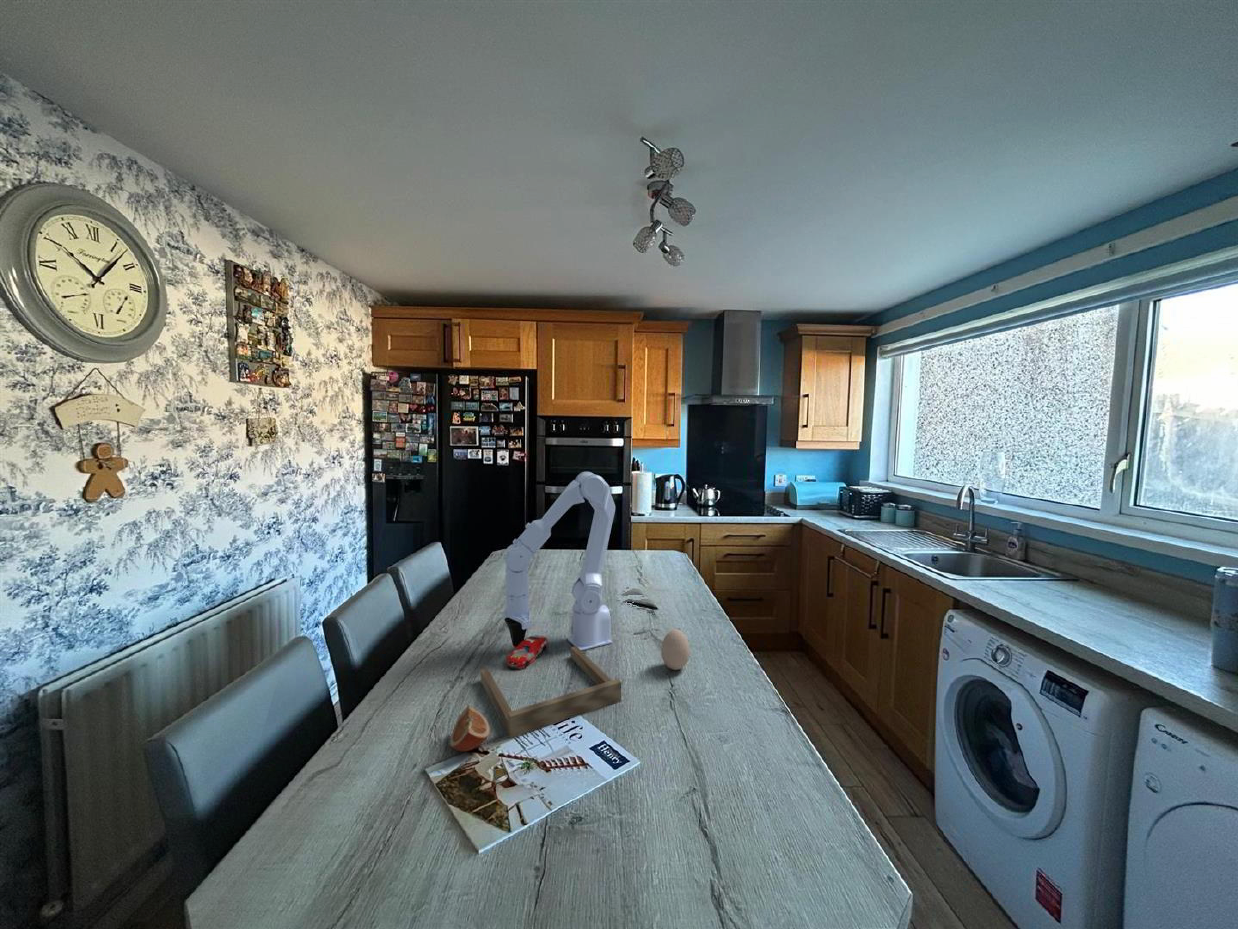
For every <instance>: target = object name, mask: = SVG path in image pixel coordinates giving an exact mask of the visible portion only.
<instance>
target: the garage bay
mask: <svg viewBox="0 0 1238 929" xmlns="http://www.w3.org/2000/svg"><path fill="white" fill-rule="evenodd" d="M570 658H571V660H572V661H574V663H576V664H577V665H578V666H579V668H580V669H581V670H582V671H583V672H584V673H585V674H586V675H587V676H588V677H589V678H590V679H591V680H592V681H593V682H594V683H595V684H596V685H593V686H590V687H587V688H586V687H585V688H583V689H580V690H576V691H574V692H573V691H572V692H569V693H567V694H562V695H560V696H556V697H553V698H550V699H547V700H544V701H540V702H537V703H534V704H530V705H528V706H524V707H520V708H518V709H514V710H512V708H511V706H510V705H509V703H508V702H507V700H506V698H505V696H504V694H503V692H501V689H500V688H499V685H498V684H497V682H496V681H495V679H494V677H493V675H492V674H491V672H490V670H489V668H484V669H481V670H480V683H481V684H482V686H483V688H484V690H485V692H486V694H487V696H488V698H489V700H490V701H491V703H492V707H494V709H495V711H496V714H497V715H498V717H499V719H500V721H501V723H502V725H503V726H504V727H503V728H504V729H505V731H506V733H507V735H508V736H509V738H510V739H513V738H515V737H518V736H520V735H524V734H527V733H530V732H533V731H536V730H539V729H542V728H545V727H548V726H550V724H551V725H554V724H557V723H560V722H563V721H566V720H569V719H572V718H575V717H578V716H580V715H583V714H587V713H589V712H594V711H595V710H599V709H602V708H604V707H607V706H610V705H611V706H612V705H614V704H617V703H619V702H622V681H621V680H620V679H619V678H616V679H611V677H610V676H608V675H607V674H606V673H605V671H604V670H602V669H601V668H600V667H599V666H598V665H597V663H595V662H593V661H592V659H591V658H590V657H588V656H587V655H586V654H585V652H584V651H583V650H582V651H581V650H580V649H579V648H578V647H577V646H572V647H570ZM568 718H569V719H568ZM565 719H566V720H565Z"/></svg>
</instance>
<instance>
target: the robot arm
mask: <svg viewBox="0 0 1238 929" xmlns="http://www.w3.org/2000/svg"><path fill="white" fill-rule="evenodd" d="M584 498H585V499H586V500H588V503H589V505H591V507H592V508H593V510H594V513H593V519H592V522H591V527H590V532H589V535H588V536H589V537H588V541H587V546H586V549H585V550H586V551H585V554H584V560H583V563H582V569H581V570H580V572H578V577H577V579H576V580H575V582H574V583H573V585H572V587H571V593H572V594H571V595H572V597H574V599H575V601H574V604H573V605H572V635H570V636H567V637H566V639H567V640H568V642H570V644H571V645H573V647H575V646H577V647H578V648H579V649H580V650H581V651H582V652H583V651H586V650H589V649H593V648H597V647H600V646H605V645H608V644H611V643H613V641H612V639H611V638H612V637H611V636H612V635H611V634H612V633H611V632H612V631H611V628H612V627H611V625H612V618H611V613H610V610H609V608H608V606H607V605H605V604H603V600H604V599H603V595H602V590H603V589H602V588H603V580H602V572H603V568H604V563H605V560H606V559H605V558H606V555H607V554H606V553H607V550H608V545H609V540H610V535H611V530H612V525H613V521H614V518H615V513H616V504H615V501H614V498H613V496H612V493H611V488H610V485H609V484H608V482H606V481H605V479H604V478H603V477H602V476H600V475H598V474H594V473H593V472H591V471H583V472H580V473H579V474H577V476H576V477H575V479H573V480H572V481H571V482H570V483H569V484H568V485H567V486H566V487H565V489H564V490H563V491H562V492H561V494H560V495H559V496H558V498H556V500H555V501H554V502H553V504H552V505H551V506H550V508H549V509H548V510H547V511H546V512H545V514H544V515H543V517H542V518H540V519H536V520H535V519H534V520H532V522H531V523H530V522H527V523H526V524H525V530H524V531H523V532H522V533H521V534H520V535H519V537H518V538H514V540H513V541H512V544H510V545H509V546H508V547H507V548H506V550H505V551H504V555H503V556H504V560H505V565H506V567H505V573H506V574H505V576H504V578H505V579H504V582H505V586H504V588H505V602H504V611H501V612H500V615H501V617H502V618H503V619H504V622H505V623H506V626H507V628H508V631H509V635H510V639H511V644H512V647H513V648H514V647H517V646H518V645H519V644H520V643H521V642H522V641H523V640H525V639H526V637H525V636H526V634H527V630H528V629H531V628H532V619H531V618H530V617H531V608H530V574H529V567H530V564H531V558H532V557H533V556H535V555H536V553H537V552H538V551H539V550H540V548H542V547H543V545H544V544H545V543H547V540H548V539H549V538H550V537H551V535H552V532H551V531H552V527H553V526H555V524H556V523H557V522H558V521H559V520H560V519H561V517H563V516H564V514H566V512H567V511H568V510H569V509H571V507H572V506H574V505H578V504H582V503H585V499H584Z"/></svg>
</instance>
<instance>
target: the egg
mask: <svg viewBox="0 0 1238 929" xmlns="http://www.w3.org/2000/svg"><path fill="white" fill-rule="evenodd" d="M690 647H691V646H690V643H689V640H688V639H687V636H686V635H685V634H684V633H683V632H682V631H681V630H679V629H672V630H669V631H668V632H667V633H666V635H665V636H664V638H663V639H662V641H661V647H660V651H661V654H660V655H661V659H662V660H663V662H664V664H665V665H666V666H667V667H668V668H669V669H671V670H674V671H677V670H680V669H683V668H684V667H685V666H686V665H687V663H688V662H689V660H690V655H691V648H690Z"/></svg>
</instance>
